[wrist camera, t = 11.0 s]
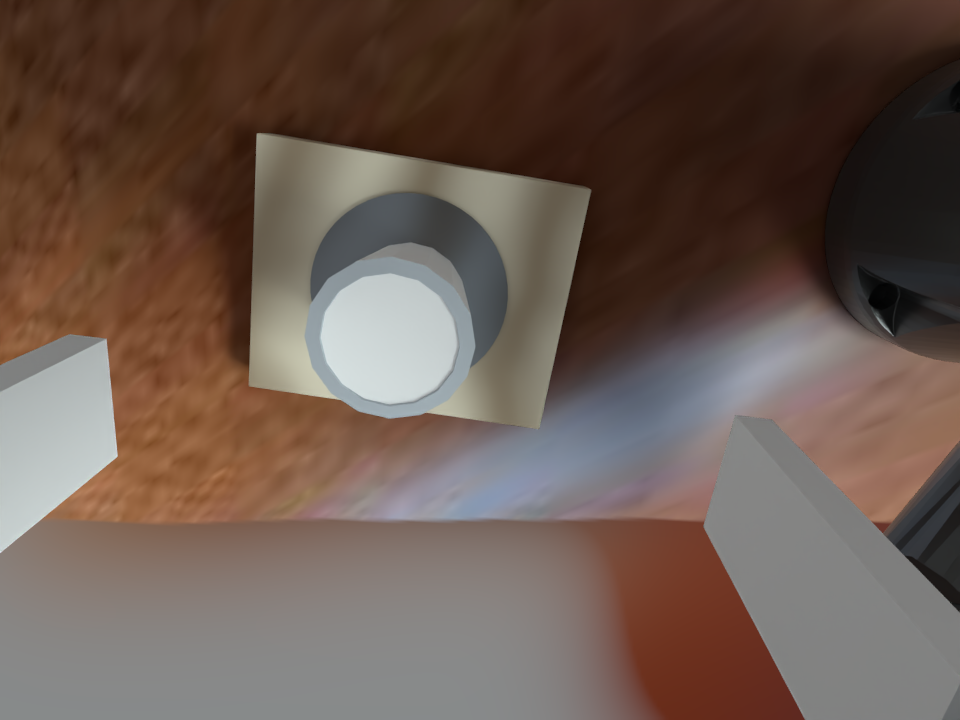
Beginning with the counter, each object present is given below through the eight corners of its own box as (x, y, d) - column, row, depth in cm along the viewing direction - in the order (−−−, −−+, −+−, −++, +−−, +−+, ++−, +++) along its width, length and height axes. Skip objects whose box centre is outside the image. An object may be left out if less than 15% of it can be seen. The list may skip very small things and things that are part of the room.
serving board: (584, 186, 31) (592, 190, 29) (536, 413, 36) (539, 431, 34) (270, 133, 30) (254, 133, 28) (261, 372, 35) (246, 388, 33)
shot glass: (343, 357, 32) (306, 415, 26) (340, 225, 30) (299, 251, 23) (473, 365, 32) (470, 424, 26) (481, 233, 30) (480, 262, 23)
